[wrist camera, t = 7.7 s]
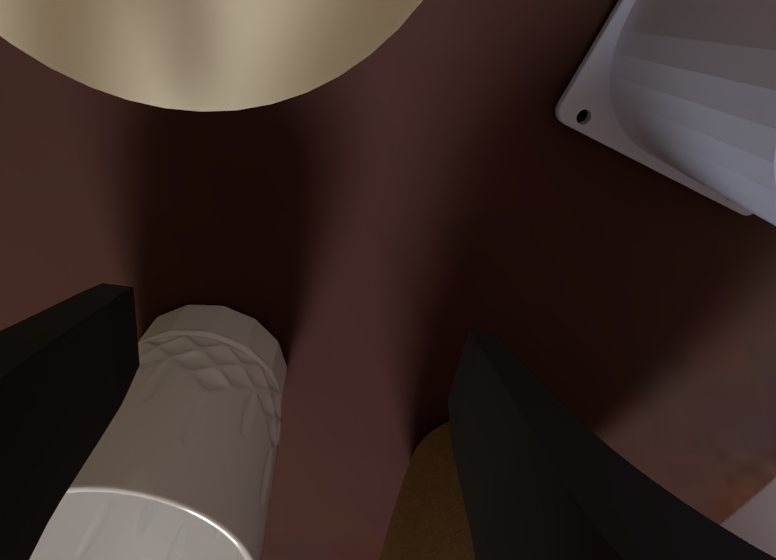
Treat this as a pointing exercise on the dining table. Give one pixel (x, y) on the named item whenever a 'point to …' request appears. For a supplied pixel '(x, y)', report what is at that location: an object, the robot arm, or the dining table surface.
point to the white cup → (182, 449)
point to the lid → (202, 45)
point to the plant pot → (430, 507)
